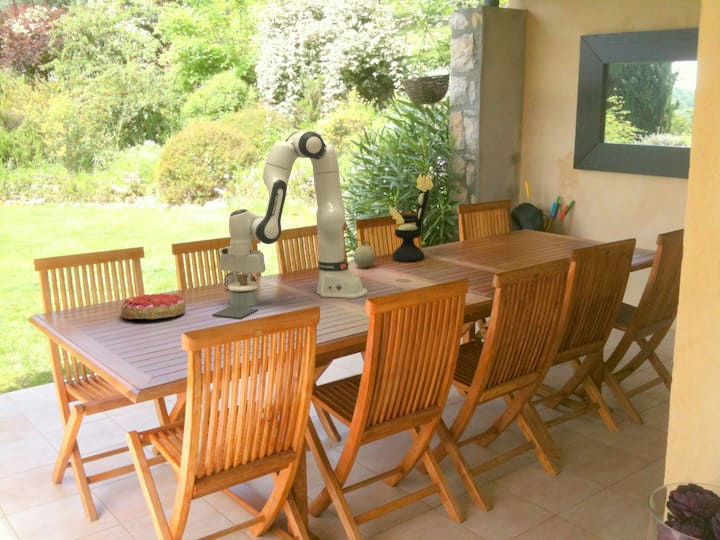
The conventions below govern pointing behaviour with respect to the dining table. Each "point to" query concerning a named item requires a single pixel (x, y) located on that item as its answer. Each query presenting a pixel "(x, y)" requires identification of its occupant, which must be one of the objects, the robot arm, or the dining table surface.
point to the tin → (231, 278)
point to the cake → (153, 306)
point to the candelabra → (409, 231)
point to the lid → (243, 285)
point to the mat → (234, 312)
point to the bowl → (243, 298)
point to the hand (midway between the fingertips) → (243, 282)
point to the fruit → (364, 255)
